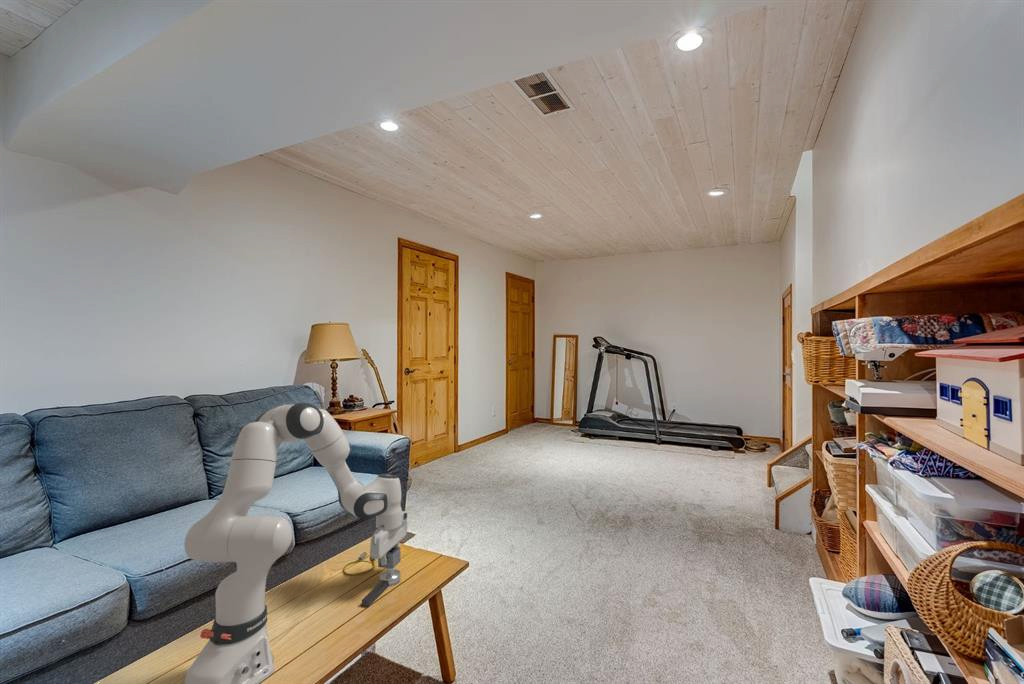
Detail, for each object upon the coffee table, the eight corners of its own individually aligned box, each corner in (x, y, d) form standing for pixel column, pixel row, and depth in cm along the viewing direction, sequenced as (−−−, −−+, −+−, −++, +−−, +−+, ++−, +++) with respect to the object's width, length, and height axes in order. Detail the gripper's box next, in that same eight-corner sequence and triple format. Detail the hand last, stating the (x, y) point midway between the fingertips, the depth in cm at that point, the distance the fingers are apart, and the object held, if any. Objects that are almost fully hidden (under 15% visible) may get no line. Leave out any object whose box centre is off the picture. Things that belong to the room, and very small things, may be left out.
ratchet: (375, 608, 146) (374, 590, 146) (355, 605, 147) (355, 588, 147) (404, 577, 165) (403, 561, 165) (386, 575, 166) (386, 560, 166)
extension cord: (389, 561, 178) (389, 556, 178) (357, 580, 164) (357, 574, 164) (366, 555, 184) (366, 550, 184) (333, 572, 170) (333, 567, 170)
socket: (392, 568, 159) (392, 554, 159) (378, 567, 160) (378, 552, 160) (400, 561, 164) (400, 547, 164) (386, 559, 166) (386, 545, 166)
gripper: (381, 533, 151) (382, 575, 151) (410, 510, 171) (410, 547, 171) (364, 531, 153) (365, 573, 153) (394, 509, 173) (395, 546, 173)
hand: (389, 559), depth 162 cm, fingers closed on socket, 6 cm apart
